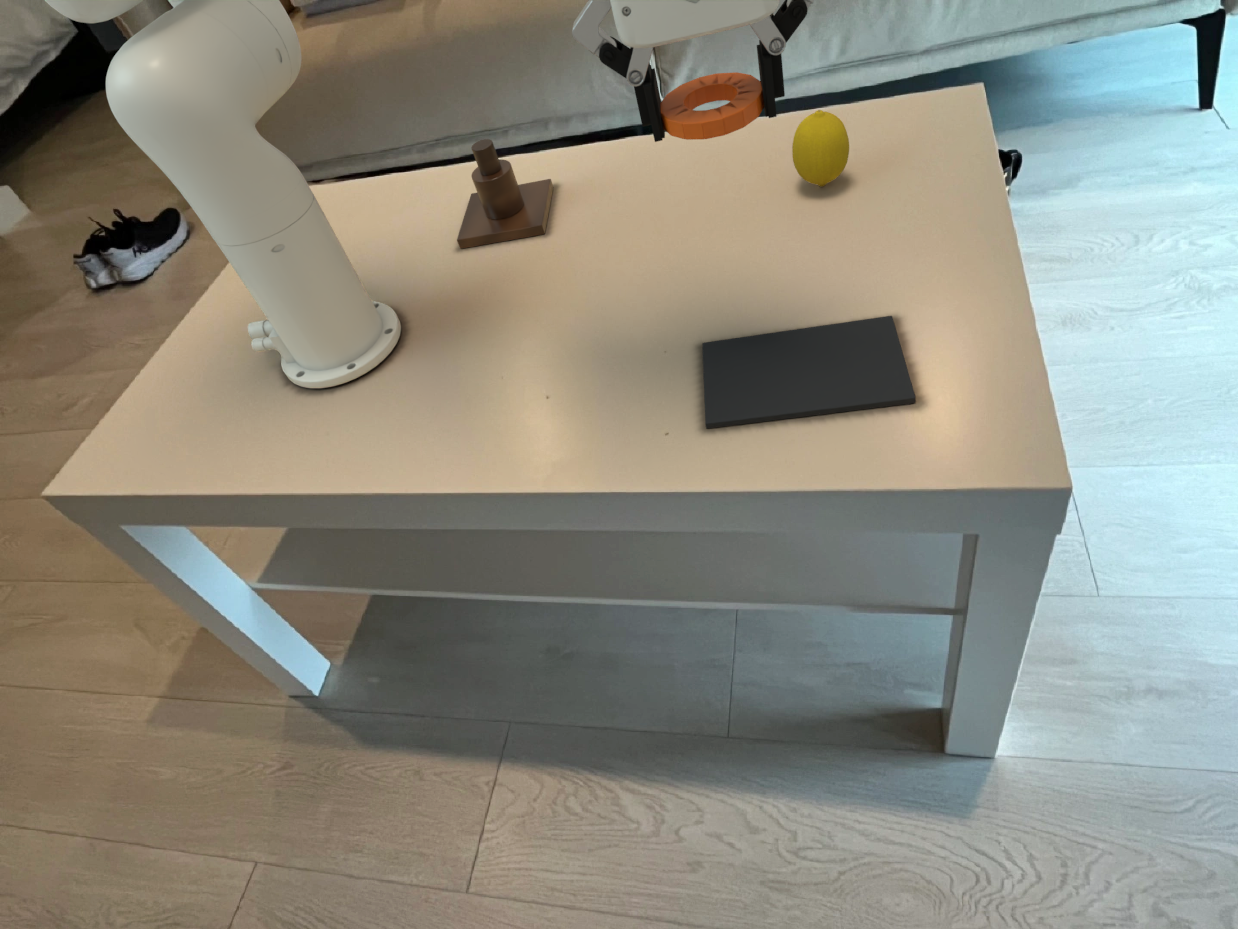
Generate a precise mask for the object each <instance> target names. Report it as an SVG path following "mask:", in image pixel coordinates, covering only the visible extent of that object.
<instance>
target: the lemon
mask: <svg viewBox="0 0 1238 929" xmlns="http://www.w3.org/2000/svg"><path fill="white" fill-rule="evenodd" d="M791 148H792V150H791V154H792V163H793V166H794V169H795V170H796V172H797V174H798V176H800V178H801V179H803V180H804V181H806V182H807V183H809V184H812V185H817V186H819V187H820V188H823V187H825V186H826V185H827V184H828V183H831V182H833V181H835V180H836V179H838V177H839V176H840V175H841V174H842V173H843V171H844V170H845V169H846V166H847V163H848V161H849V155H850V139H849V135H848V132H847V129H846V125H844V122H843V121H842V119H841V118H839V116H838V115H836V114H834V113H831V112H829V111H823V110H822V109H818V110H815V112H813V113H810V114H808V115H807V116H806V117H805V118H803V120H801V121H800V122H799V124H798V125H797V127H796V130H795V132H794V135H793V139H792V147H791Z"/></svg>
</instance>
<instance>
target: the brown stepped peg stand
mask: <svg viewBox="0 0 1238 929" xmlns="http://www.w3.org/2000/svg"><path fill="white" fill-rule="evenodd" d="M471 152H472V154H473V157H474V159H475V162H476V165H477V167H475V168H474V170H472V172H471V181H472V182H473V185H474V188H475V190H476V192H473V193H470V197H469V200H468V203H467V205H466V209H465V211H464V212H465V213H464V216H463V219H462V222H461V225H460V229H459V232H458V235H457V238H456V241H457V244H458V246H459V249H460V250H463V249H466V248H467V249H469V248H473V247H479V246H484V245H490V244H496V243H502V242H507V241H514V240H518V239H519V240H520V239H524V238H529V237H536V236H542V235H545V234H546V229H547V224H548V218H549V213H550V208H551V202H552V197H553V192H554V185H553V181H552V179H551V178H546V179H542V180H537V181H536V180H535V181H531V182H526V183H520V184H518V181H517V179H516V175H515V172H514V169H513V166H512V163H511V162H510V160H507V159H499V156H498V153H497V150H496V147H495V144H494V142H493V140H492V139H489V138H487V139H486V138H483V139H481V140H480V139H479V140H478V141H476V142H474V143H473V144H472V145H471Z"/></svg>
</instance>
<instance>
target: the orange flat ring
mask: <svg viewBox="0 0 1238 929" xmlns="http://www.w3.org/2000/svg"><path fill="white" fill-rule="evenodd" d="M717 101H718V102H719V101H727V103H725V104H723V105H721V106H718V107H715V108H711V109H704V110H695V109H697V107H700V106H702V105H705V104H709V103H713V102H717ZM763 111H764V100H763V90H762V85H761V82H760V79H758V78H756V77H755V76H754V75H752V74H748V73H742V72H738V71H737V72H735V71H734V72H718V73H713V74H708V75H704V76H699V77H697V78H694V79H692V80H689V81H687V82H684V83H682V84H680V85H678V86H677V87H675V88H674V89H673V90H671V91H670V92H668V93H667V94H666V95H665V96H664V98H663V99H661V118H662V123H663V128H664V130H665V133H667V134H669V136H672V137H675V138H678V139H682V140H687V141H690V140H691V141H692V140H709V139H714V138H719V137H724V136H726V135H730V134H731V133H733V132H736V131H739V130H741V129H743V128H746V127H747V126H748V125H750V124H751V123H752V122H754V121H755V120H757V119H758V118H759V117H760V115H761V113H762V112H763Z"/></svg>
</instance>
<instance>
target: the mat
mask: <svg viewBox="0 0 1238 929" xmlns="http://www.w3.org/2000/svg"><path fill="white" fill-rule="evenodd" d="M701 346H702V347H701V348H702V374H703V375H702V376H703V395H704V396H703V400H704V424H705V428H706V429H714V428H721V427H731V426H732V427H733V426H740V425H749V424H755V423H763V422H771V421H772V422H773V421H779V420H787V419H796V418H804V417H811V416H821V415H829V414H836V413H837V414H838V413H845V412H852V411H863V410H869V409H877V408H885V407H894V406H900V405H901V406H902V405H910V404H916V399H917V398H916V394H915V390H914V387H913V383H912V379H911V376H910V373H909V369H908V366H907V362H906V358H905V356H904V353H903V349H902V346H901V342H900V339H899V335H898V332H897V328H896V325H895V321H894V317H893V315H886V316H878V317H873V318H872V317H871V318H866V319H865V318H864V319H858V320H851V321H844V322H838V323H831V324H824V325H823V324H822V325H817V326H810V327H809V326H808V327H801V328H796V329H789V330H783V331H782V330H781V331H775V332H774V331H773V332H768V333H760V334H754V335H753V334H752V335H747V336H740V337H735V338H734V337H733V338H725V339H718V340H711V341H705V342H702V344H701Z"/></svg>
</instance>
